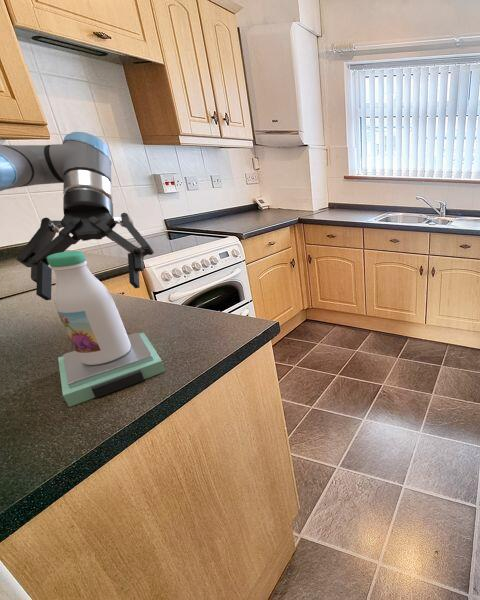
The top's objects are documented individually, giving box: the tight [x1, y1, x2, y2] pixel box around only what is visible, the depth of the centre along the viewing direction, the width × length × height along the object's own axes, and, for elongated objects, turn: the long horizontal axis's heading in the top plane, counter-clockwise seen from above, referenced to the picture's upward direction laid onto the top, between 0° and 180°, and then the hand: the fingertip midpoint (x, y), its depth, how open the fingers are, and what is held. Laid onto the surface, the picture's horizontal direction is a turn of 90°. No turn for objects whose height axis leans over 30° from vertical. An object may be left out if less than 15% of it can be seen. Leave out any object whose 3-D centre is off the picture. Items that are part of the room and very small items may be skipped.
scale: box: [57, 332, 166, 408], centre depth 65 cm, size 17×14×2 cm
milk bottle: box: [47, 250, 131, 365], centre depth 60 cm, size 8×8×20 cm
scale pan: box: [62, 332, 154, 388], centre depth 65 cm, size 13×12×1 cm
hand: (91, 291), depth 63 cm, fingers open, 13 cm apart
